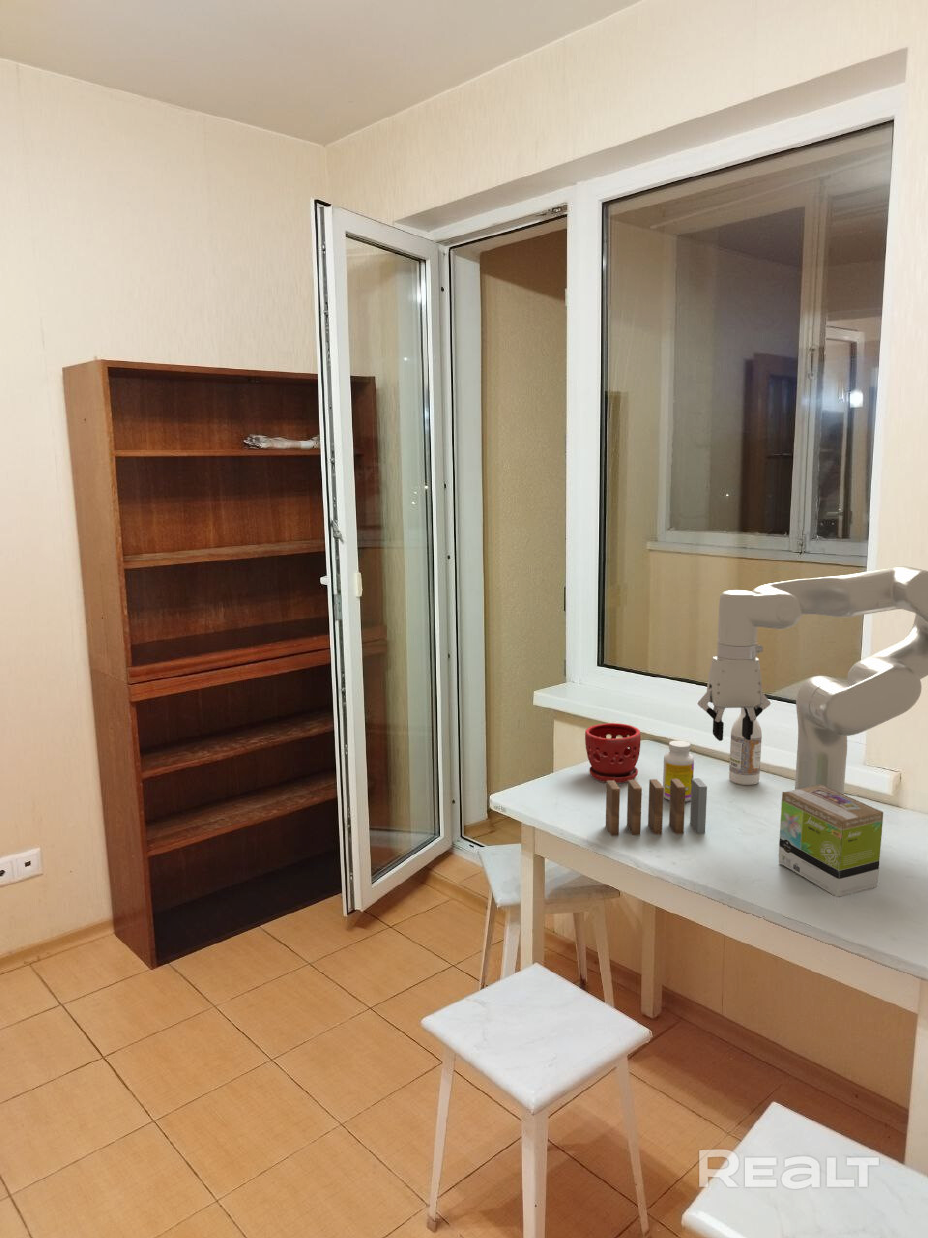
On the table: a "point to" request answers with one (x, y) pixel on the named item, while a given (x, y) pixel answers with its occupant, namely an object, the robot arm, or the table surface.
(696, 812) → the head domino
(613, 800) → the domino
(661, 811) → the domino
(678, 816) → the domino
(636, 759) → the plant pot
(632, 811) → the domino
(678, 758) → the supplement bottle
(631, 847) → the table surface
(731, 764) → the bath foam
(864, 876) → the tea box
